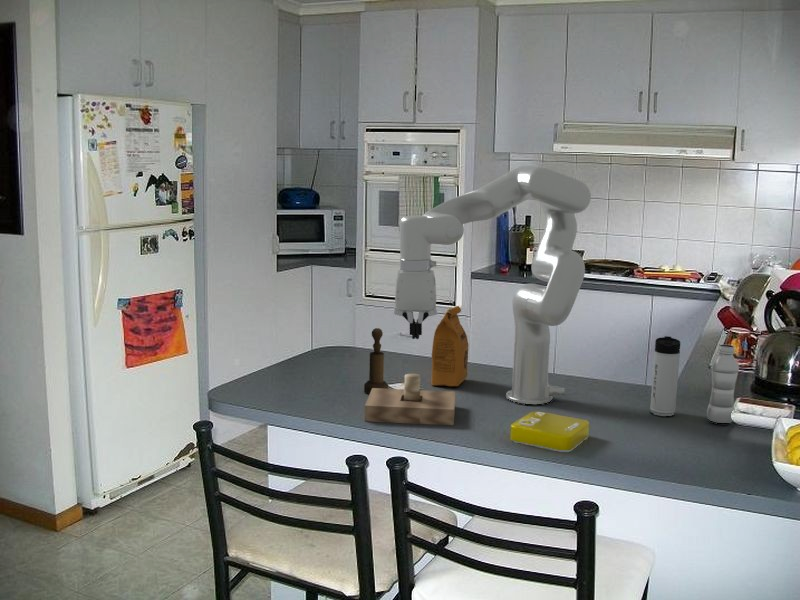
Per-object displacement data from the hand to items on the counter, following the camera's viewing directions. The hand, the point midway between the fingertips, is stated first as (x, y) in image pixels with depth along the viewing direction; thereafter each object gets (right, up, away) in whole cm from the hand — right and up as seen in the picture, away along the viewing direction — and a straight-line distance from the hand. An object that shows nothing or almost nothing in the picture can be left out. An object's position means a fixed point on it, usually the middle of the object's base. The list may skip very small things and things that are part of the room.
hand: (415, 337), depth 220 cm
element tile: (+31, -24, -14) cm, 42 cm away
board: (-1, -19, +3) cm, 20 cm away
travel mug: (+64, -20, +8) cm, 68 cm away
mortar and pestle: (-11, -16, +22) cm, 29 cm away
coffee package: (+10, -15, +33) cm, 38 cm away
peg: (-1, -20, +3) cm, 20 cm away
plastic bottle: (+77, -22, +1) cm, 80 cm away
